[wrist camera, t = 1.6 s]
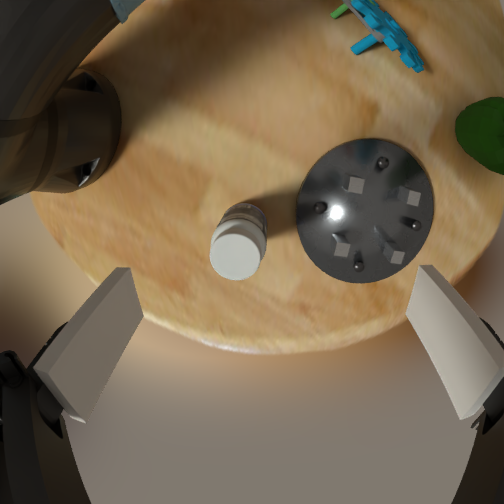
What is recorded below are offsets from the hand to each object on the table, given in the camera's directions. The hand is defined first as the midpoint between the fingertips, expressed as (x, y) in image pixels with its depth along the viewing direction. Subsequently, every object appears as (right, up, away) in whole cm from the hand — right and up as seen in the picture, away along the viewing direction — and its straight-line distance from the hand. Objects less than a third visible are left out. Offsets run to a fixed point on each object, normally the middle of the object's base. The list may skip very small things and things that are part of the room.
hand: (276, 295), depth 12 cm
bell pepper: (+25, +16, +10) cm, 31 cm away
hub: (+11, +6, +16) cm, 20 cm away
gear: (+11, +24, +8) cm, 28 cm away
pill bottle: (-2, +5, +17) cm, 18 cm away
